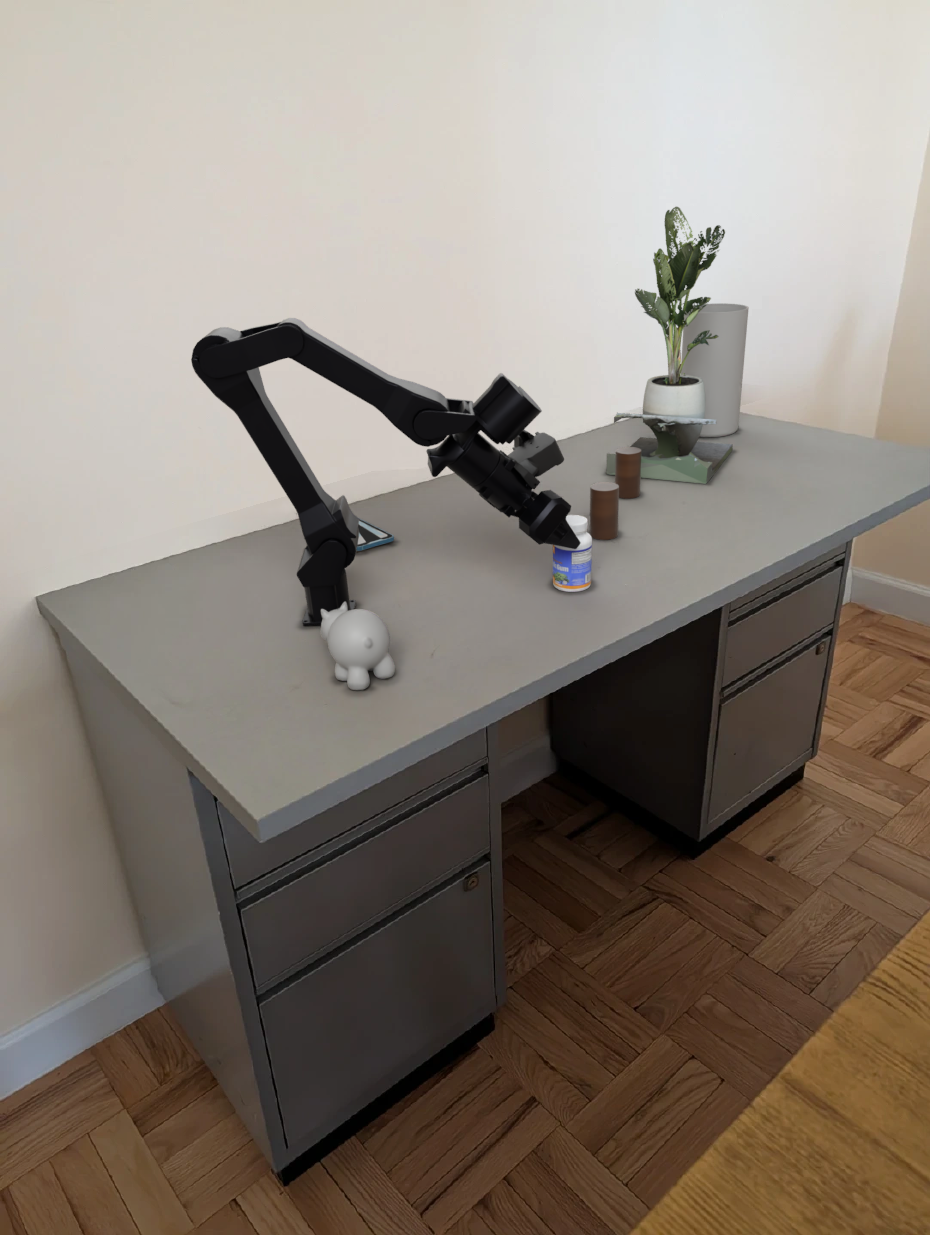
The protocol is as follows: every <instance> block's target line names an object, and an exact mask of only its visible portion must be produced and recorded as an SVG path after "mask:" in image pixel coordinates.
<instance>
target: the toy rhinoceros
mask: <svg viewBox="0 0 930 1235" xmlns="http://www.w3.org/2000/svg"><path fill="white" fill-rule="evenodd" d="M321 615H322V618H323V620H322V623H321V625H320V629H319V631H320V632H319V633H320V637H321V638H322V640H324V641H325V642H326V643H327V648H328V651H329V654H330V656H331V657H332V658H333V660H334V661H335V664H334V675H335V678H336V679H337V681H342V682H346V683H347V687H348V688H349V689H350V690H352V691H363V690H365V689H367V688H368V687H369V686H370V683H371V680H370V675H369V672H373V675H374V676H375V678H377V679H379V680H383V679H389V678H392V677H393V676H394V674H395V673H396V665H395V662H394V660H393V657H392V656H391V655H390V653H389V648H390V645H391V636H390V631H389V627H388V625H387V624H386V622H385V621H384V619H383V618H382V617H381V616H379V615H378V614H377V613H375V612H373V611H371V610H369V609H364V608H355V609H353V610H349V611H348V607H347V603H346V601H345V602H343V604H342V606H341V607H340V608H339V609H336V610H332V611H330V612H328V611H326V610H324V609H321Z"/></svg>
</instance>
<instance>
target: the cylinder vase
mask: <svg viewBox="0 0 930 1235" xmlns="http://www.w3.org/2000/svg"><path fill="white" fill-rule="evenodd" d="M704 305H707V306H705V307H703V309H702V306H704ZM704 305H702V306H700V307H701V309H702V310H701V311H700V312H699V311H698V312H699V313H698V312H697V316H696V317H695V319H694V320H693V321H692V322H691V323H690V324H689V325H688V326H687V325H685V327H684V328H683V331H682V341H681V345H682V346H681V363H682V362H683V360H684V358H685V356H686V354H687V352H688V351H687V350H688V349H690V348H688V349H687V346H688V344H690V343H692V342H693V341H694V339H695V338H697V337H698V336H697V335H698V334H699V335H700V333H701V332H703V331H707V330H710V331H709V333H708V331H707V333H708V335H709V334H710V333H712V336H710V337H713V336H714V335H718V336H719V337H717V338H715V339H706V340H707V342H708V344H709V345H707V344H705V343H704V344H698V345H697V346H695V347H694V348H693V349H691V350H690V352H689V354H688V356H687V358H686V360H685V362H684V365H683V367H682V371H681V374H680V375H684V374H683V373H685V375H690V376H696V377H700V378H702V379H703V381H704V387H705V416H704V419H713V420H717V424H708V425H703V427H702V430H701V433H700V436H699V438H720V437H726V436H730V435H733V434H735V433H736V432H738V430H739V427H740V426H739V425H740V416H741V415H740V414H741V400H742V390H743V377H744V367H745V355H746V343H747V332H748V330H747V329H748V320H749V306H747V305H745V304H740V303H708V304H707V303H706V304H704ZM693 306H694V304H693ZM692 311H693V309H691V312H692ZM686 314H687V313H686ZM689 314H690V311H689V312H688V316H689ZM688 316H687V315H685V314H684V321H685V319H686V318H687V317H688ZM686 326H687V327H686ZM702 335H703V334H702ZM708 335H707V336H708ZM707 336H706V337H707ZM702 337H703V336H702ZM699 338H700V339H701V337H699ZM694 342H695V341H694ZM681 363H680V364H681Z"/></svg>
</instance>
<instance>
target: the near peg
mask: <svg viewBox="0 0 930 1235" xmlns="http://www.w3.org/2000/svg"><path fill="white" fill-rule="evenodd" d="M619 506H620V498H619V485H618V484H616V483H615V482H611V481H598V482H595V483H592V484H591V485H590V486H589V534H590V535H591V537H592V539H595V540H601V541H608V540H613V539H615V538H617V537H618V535H619V509H620V508H619Z"/></svg>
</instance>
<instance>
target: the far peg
mask: <svg viewBox="0 0 930 1235" xmlns="http://www.w3.org/2000/svg"><path fill="white" fill-rule="evenodd" d="M615 454H616V456H615V475H614V483H616V484H618V485H619V499H624V500H625V499H626V500H628V499H637V498H638V497H640V495H641V449H639V448H636V447H630V446H622V447H619V448H616V449H615Z"/></svg>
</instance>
